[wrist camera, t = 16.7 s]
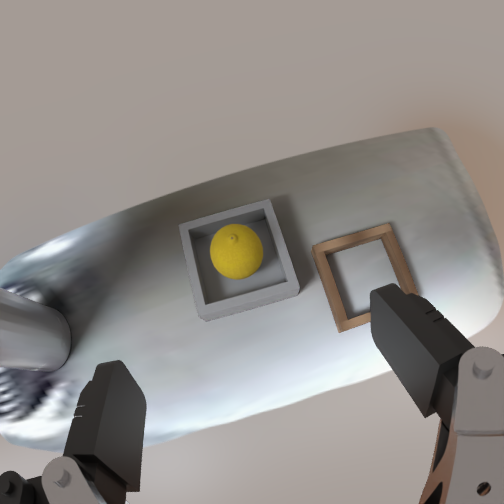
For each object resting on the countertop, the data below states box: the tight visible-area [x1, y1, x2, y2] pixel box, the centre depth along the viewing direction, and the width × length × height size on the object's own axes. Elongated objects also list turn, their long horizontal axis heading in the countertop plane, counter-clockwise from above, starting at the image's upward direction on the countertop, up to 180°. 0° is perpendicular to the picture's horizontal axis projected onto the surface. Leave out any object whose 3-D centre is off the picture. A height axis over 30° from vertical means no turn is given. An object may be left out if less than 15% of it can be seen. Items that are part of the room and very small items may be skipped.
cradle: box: [311, 223, 419, 333], centre depth 36 cm, size 10×10×2 cm
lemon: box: [210, 224, 263, 280], centre depth 34 cm, size 6×6×8 cm
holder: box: [179, 199, 300, 321], centre depth 36 cm, size 11×11×4 cm
